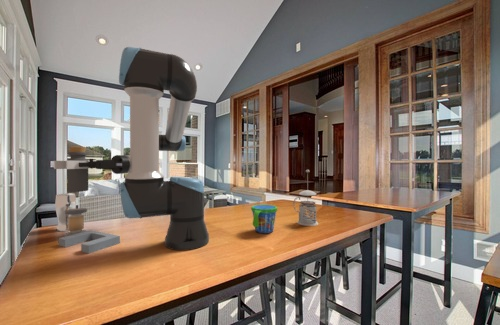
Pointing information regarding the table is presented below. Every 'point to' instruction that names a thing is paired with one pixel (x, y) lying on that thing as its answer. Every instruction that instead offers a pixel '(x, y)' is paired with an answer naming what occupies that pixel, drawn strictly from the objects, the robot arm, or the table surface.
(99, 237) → the notch board
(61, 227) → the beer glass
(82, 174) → the bottle
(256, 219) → the snack cup
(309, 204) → the french press
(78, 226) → the bobbin
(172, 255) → the table surface
